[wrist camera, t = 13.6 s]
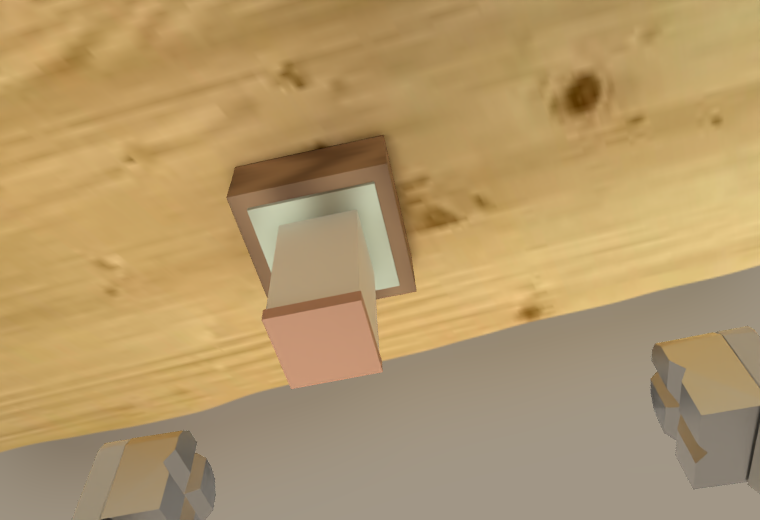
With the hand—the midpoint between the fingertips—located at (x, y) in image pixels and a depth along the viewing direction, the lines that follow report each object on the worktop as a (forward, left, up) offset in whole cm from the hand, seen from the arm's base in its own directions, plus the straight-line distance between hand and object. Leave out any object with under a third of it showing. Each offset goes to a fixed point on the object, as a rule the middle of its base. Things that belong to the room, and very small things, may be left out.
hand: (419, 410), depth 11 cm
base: (+6, +14, -31) cm, 35 cm away
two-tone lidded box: (+6, +14, -27) cm, 31 cm away
